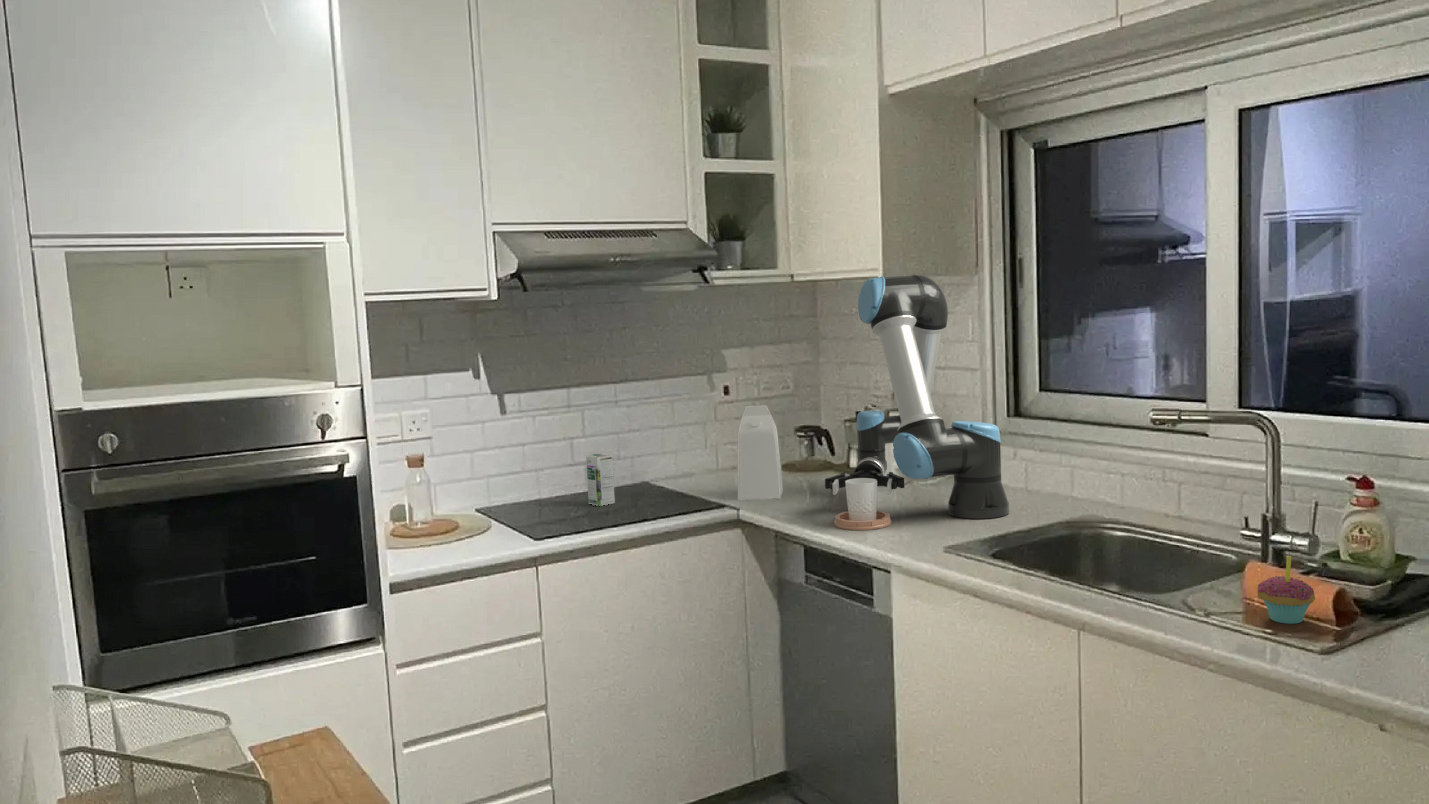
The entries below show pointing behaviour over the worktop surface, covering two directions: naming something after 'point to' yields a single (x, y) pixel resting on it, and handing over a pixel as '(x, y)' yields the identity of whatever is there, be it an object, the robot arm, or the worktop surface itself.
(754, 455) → the milk
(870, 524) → the saucer
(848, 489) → the white cup
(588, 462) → the syrup box
